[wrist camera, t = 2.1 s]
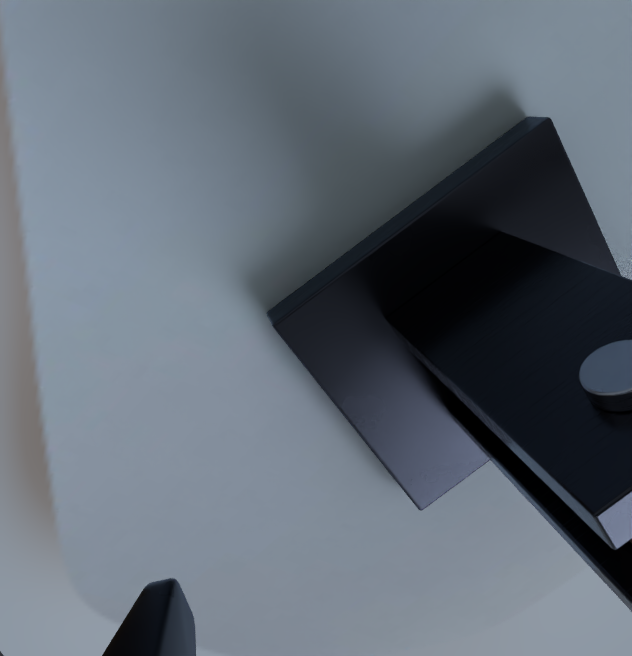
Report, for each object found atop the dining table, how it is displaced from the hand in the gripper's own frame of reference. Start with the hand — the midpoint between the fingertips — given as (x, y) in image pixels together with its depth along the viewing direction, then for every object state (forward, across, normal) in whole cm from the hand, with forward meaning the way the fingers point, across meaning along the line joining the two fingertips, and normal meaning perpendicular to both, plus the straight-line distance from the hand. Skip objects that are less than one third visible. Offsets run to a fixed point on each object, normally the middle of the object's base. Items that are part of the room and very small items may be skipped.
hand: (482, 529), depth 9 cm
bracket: (+11, -3, +3) cm, 12 cm away
